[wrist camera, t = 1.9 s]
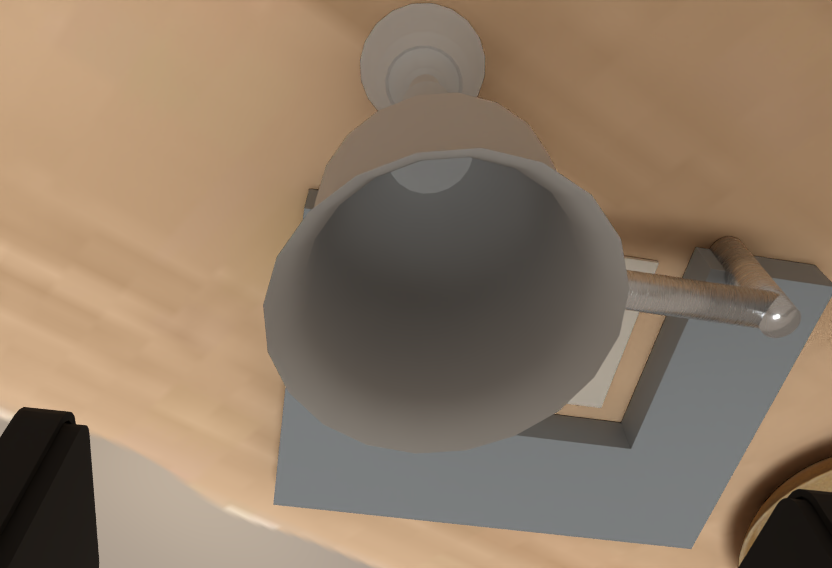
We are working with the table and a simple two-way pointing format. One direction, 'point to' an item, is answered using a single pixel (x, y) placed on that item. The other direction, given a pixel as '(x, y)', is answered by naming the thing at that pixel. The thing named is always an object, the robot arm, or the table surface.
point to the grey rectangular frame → (582, 440)
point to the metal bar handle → (719, 294)
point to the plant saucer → (815, 477)
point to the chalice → (442, 261)
